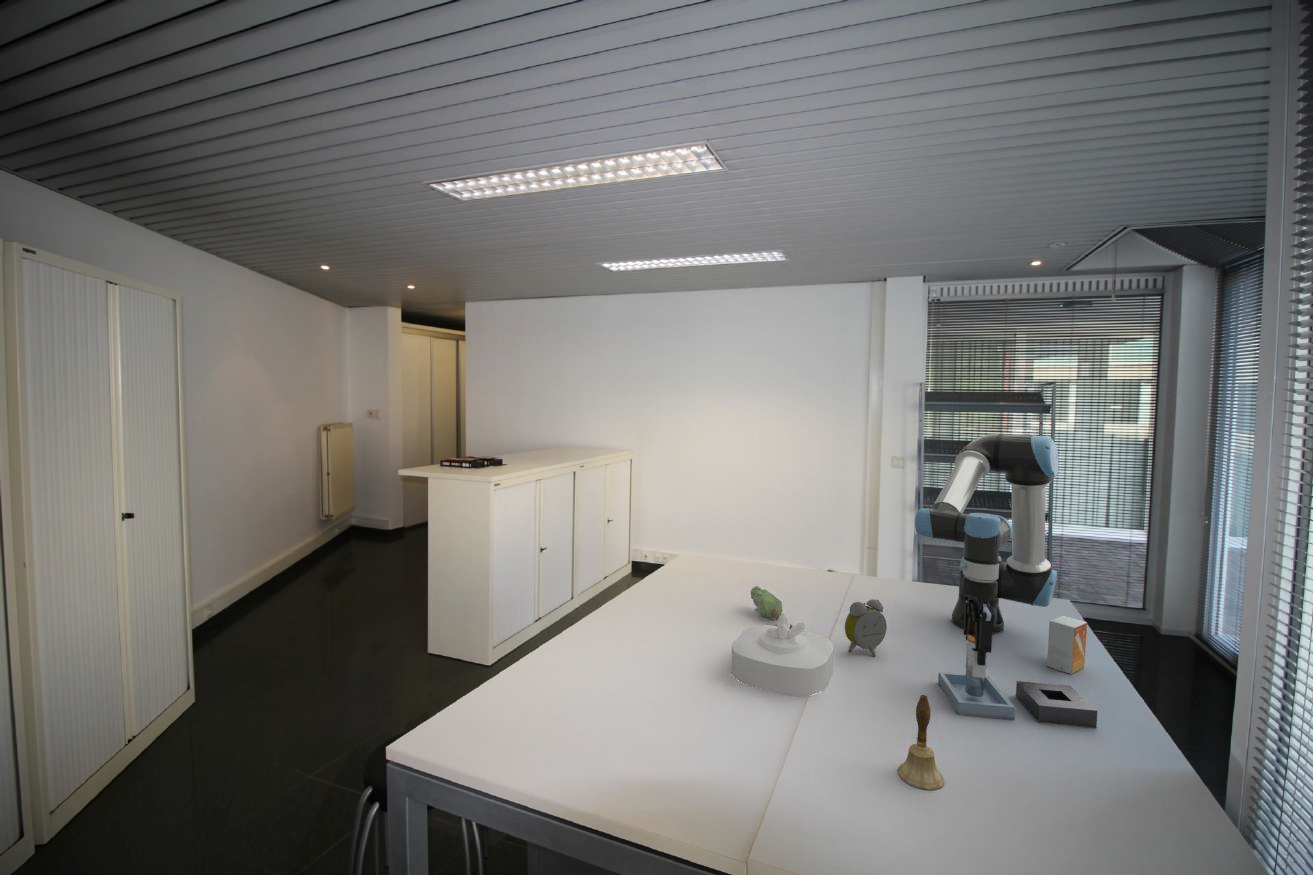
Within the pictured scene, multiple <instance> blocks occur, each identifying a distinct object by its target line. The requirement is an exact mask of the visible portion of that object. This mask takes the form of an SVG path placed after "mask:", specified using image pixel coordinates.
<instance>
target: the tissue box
mask: <svg viewBox="0 0 1313 875" xmlns="http://www.w3.org/2000/svg"><path fill="white" fill-rule="evenodd" d="M776 623H777V625H769V624H768V625H767V624H766V625H758V626H751V627H747V628H745V629H744V630H743V631H742V632H741V633H740V635H738V636H737V637H736V638H735V640H733V641H732V643H731V666H730V667H731V668H730V669H731V670H730V671H732V673H731V675H732V674H733V676H734V677H735V678H736V679H737V680H739V681H740V682H739V681H738V682H739V683H741V682H742V683H741V684H743V683H744V684H743V685H745V684H747V685H746V686H748V685H749V686H748V687H751V686H753V687H752V688H755V687H756V689H759V688H761V689H760V690H763V689H764V691H768V692H773V693H776V694H780V693H781V694H780V695H786V696H790V697H802V698H803V697H810V696H809V695H812V694H815V693H819V692H820V691H823V690H824V689H825V688H826V686H827V684H828V682H829V680H830V681H831V679H832V677H833V674H834V673H833V672H834V650H835V649H834V643H833V642H832V641H830V640H829V639H828V638H827V637H824V636H822V635H821V634H818V633H814V632H811V631H804V630H805V629H806V628H807V625H806V624H805V623H804V622H800V623H796V624H795V625H792V628H791V629H789V627H790V624H791V622H790V619H789V616H788V615H786V614H785V612H784V613H781V615H780V616H779V618H778V621H777V620H776ZM832 673H833V674H832ZM733 676H732V677H733ZM831 676H832V677H831ZM734 677H733V678H734ZM735 678H734V679H735ZM830 678H831V679H830ZM736 679H735V680H736ZM737 680H736V681H737ZM829 683H830V682H829ZM828 685H829V684H828ZM827 687H828V686H827ZM826 689H827V688H826ZM826 689H825V690H826ZM825 690H824V691H825ZM824 691H823V692H824Z"/></svg>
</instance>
